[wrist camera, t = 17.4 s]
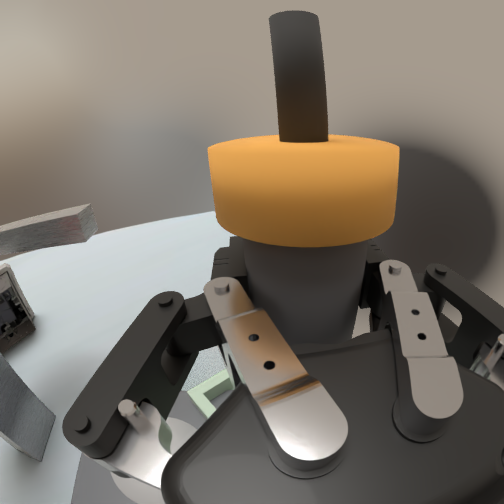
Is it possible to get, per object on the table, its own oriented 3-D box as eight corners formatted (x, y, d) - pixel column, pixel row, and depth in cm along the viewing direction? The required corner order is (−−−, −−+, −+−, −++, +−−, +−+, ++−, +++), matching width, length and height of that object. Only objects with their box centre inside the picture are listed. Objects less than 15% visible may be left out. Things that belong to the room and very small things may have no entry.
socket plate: (261, 547, 8) (260, 548, 7) (79, 517, 8) (68, 513, 7) (251, 396, 18) (250, 388, 18) (108, 393, 18) (101, 384, 18)
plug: (369, 408, 11) (428, 8, 3) (244, 427, 11) (177, -14, 3) (338, 327, 16) (348, 45, 9) (241, 339, 16) (207, 46, 9)
